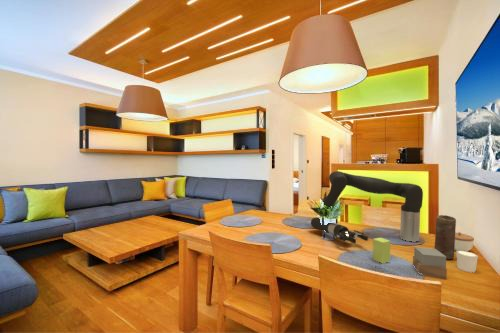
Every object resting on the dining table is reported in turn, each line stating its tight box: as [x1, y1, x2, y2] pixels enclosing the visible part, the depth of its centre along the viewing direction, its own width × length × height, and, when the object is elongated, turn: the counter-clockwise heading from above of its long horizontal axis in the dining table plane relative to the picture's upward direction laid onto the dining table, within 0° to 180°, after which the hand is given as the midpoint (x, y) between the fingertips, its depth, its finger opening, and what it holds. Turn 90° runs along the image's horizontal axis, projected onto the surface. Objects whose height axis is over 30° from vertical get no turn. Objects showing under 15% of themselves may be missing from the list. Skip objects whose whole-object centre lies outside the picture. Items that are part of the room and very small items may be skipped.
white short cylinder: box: [455, 251, 479, 273], centre depth 98 cm, size 7×7×7 cm
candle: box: [433, 214, 457, 260], centre depth 109 cm, size 8×7×20 cm
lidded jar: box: [454, 231, 475, 252], centre depth 118 cm, size 11×11×9 cm
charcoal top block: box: [413, 246, 447, 269], centre depth 95 cm, size 8×8×4 cm
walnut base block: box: [412, 255, 448, 280], centre depth 95 cm, size 9×9×4 cm
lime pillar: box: [372, 237, 391, 264], centre depth 105 cm, size 5×5×10 cm
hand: (361, 240), depth 116 cm, fingers open, 8 cm apart
